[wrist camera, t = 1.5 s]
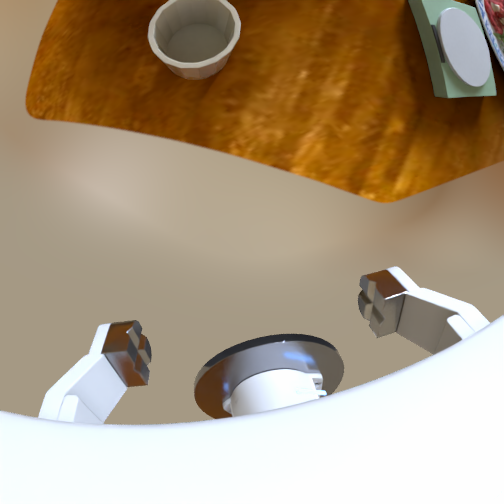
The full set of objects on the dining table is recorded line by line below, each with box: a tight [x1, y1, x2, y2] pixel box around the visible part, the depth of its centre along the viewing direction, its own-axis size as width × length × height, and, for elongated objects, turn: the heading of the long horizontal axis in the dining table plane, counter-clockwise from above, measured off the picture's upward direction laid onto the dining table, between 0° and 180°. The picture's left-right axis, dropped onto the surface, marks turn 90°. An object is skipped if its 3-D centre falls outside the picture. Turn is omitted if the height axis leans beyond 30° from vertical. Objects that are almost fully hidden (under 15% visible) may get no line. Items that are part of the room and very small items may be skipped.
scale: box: [408, 0, 496, 98], centre depth 20 cm, size 14×13×3 cm
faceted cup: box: [148, 0, 241, 80], centre depth 17 cm, size 6×6×8 cm
